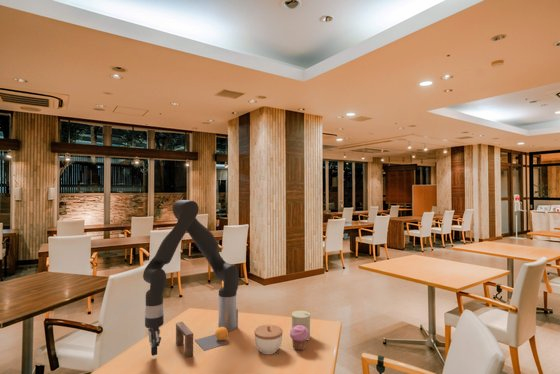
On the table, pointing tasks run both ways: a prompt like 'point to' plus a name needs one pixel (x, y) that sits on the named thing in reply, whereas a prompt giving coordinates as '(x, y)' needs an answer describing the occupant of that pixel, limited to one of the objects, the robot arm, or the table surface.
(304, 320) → the can
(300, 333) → the cupcake
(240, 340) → the table surface
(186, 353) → the bridge
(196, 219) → the robot arm
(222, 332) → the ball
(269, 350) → the lidded bowl
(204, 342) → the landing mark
